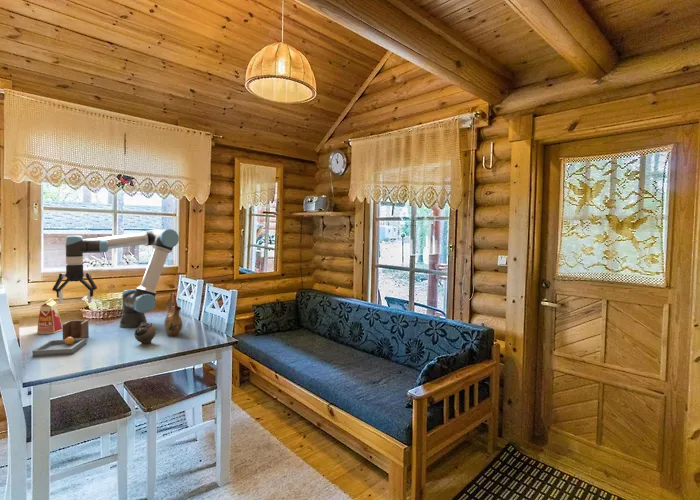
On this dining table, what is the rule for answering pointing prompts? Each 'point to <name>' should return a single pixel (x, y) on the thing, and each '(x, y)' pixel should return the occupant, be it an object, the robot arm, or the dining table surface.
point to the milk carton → (49, 318)
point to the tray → (58, 348)
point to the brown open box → (76, 329)
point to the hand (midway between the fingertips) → (75, 303)
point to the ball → (69, 340)
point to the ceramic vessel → (173, 317)
